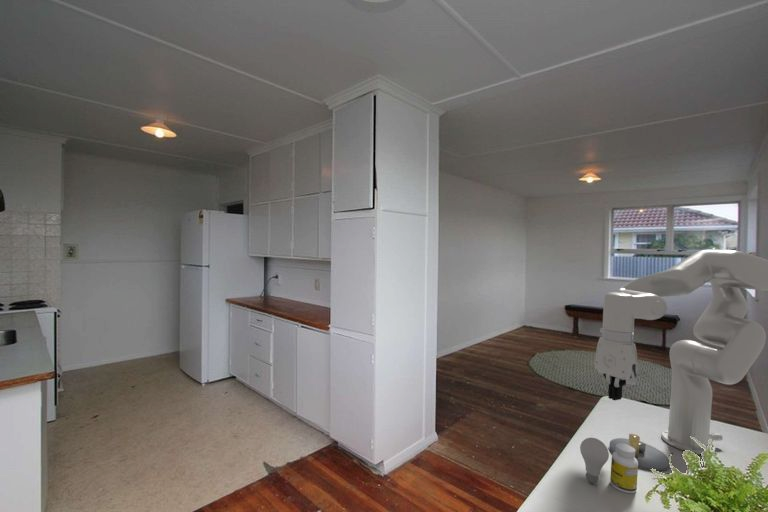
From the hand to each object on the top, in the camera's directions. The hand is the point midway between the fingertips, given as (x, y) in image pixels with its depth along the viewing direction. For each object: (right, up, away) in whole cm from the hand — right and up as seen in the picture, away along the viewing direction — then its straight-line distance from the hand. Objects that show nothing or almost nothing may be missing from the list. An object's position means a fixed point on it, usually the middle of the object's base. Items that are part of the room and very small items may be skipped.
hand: (614, 398), depth 104 cm
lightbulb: (-15, -15, -15) cm, 26 cm away
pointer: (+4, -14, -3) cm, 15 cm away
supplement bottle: (-8, -16, -16) cm, 24 cm away
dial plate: (+6, -16, -2) cm, 17 cm away
